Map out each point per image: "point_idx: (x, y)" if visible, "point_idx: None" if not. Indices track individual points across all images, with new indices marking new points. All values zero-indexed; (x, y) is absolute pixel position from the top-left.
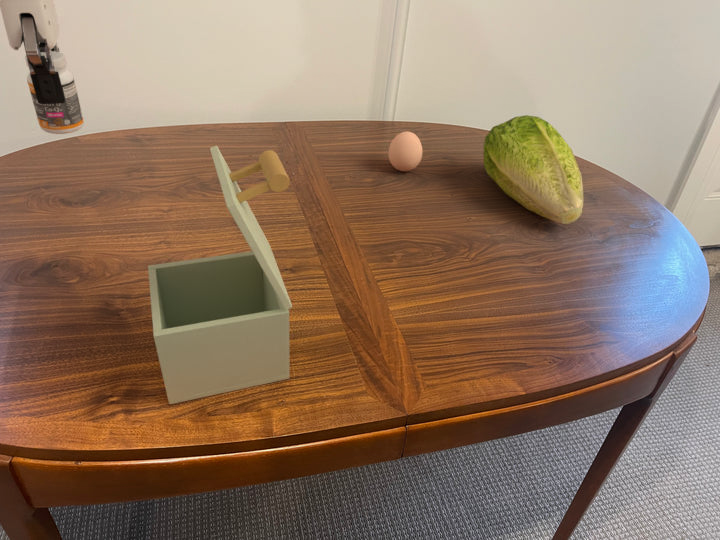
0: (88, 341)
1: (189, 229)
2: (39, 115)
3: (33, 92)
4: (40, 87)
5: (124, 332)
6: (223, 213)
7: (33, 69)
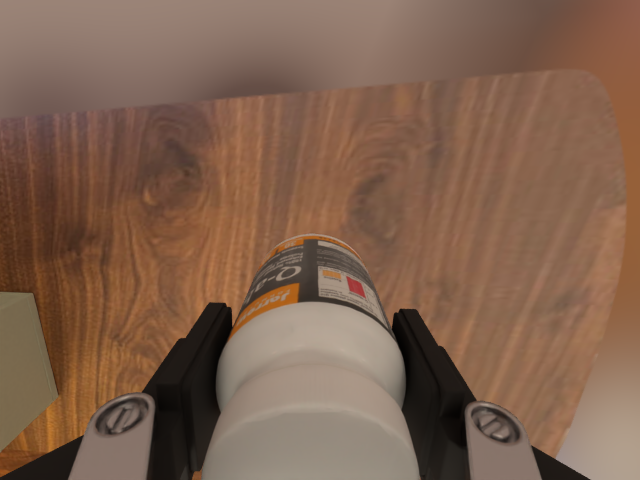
0: (22, 214)
1: None
2: (271, 260)
3: (257, 299)
4: (163, 366)
5: (36, 253)
6: None
7: (53, 451)
